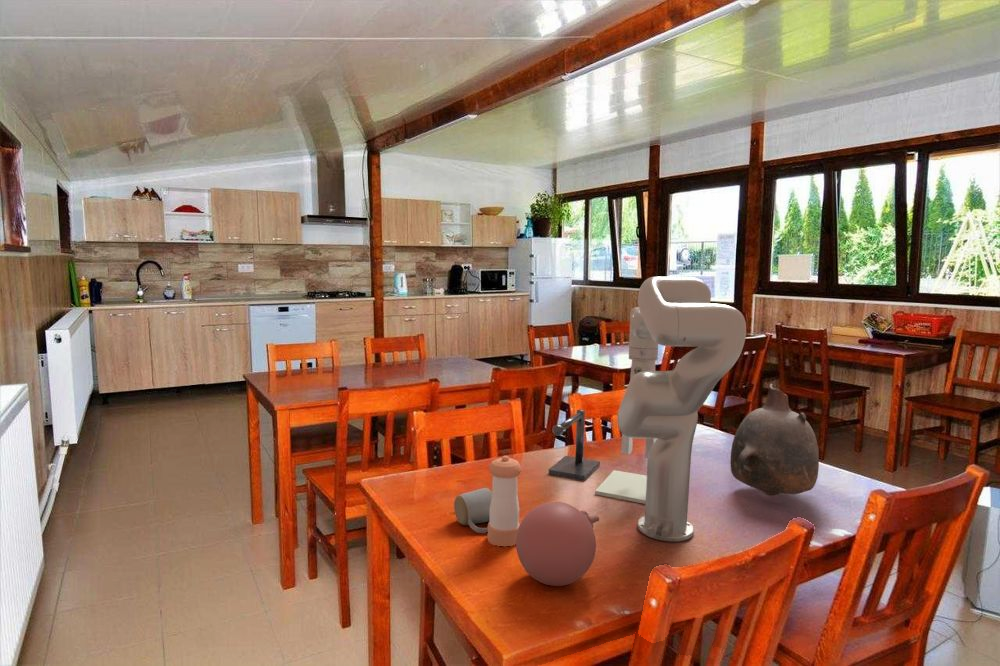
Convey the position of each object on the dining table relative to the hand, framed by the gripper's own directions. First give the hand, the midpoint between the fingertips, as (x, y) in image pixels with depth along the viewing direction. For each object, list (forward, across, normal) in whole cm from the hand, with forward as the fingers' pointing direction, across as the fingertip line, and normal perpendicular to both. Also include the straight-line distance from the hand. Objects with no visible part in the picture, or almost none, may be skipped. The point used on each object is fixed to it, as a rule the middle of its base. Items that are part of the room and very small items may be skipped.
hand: (640, 420), depth 165 cm
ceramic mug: (+20, -40, +28) cm, 52 cm away
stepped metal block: (+9, 0, 0) cm, 9 cm away
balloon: (+20, -53, +2) cm, 56 cm away
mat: (+19, 0, 0) cm, 19 cm away
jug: (+19, +13, -33) cm, 40 cm away
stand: (+19, +1, +20) cm, 28 cm away
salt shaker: (+19, -44, +19) cm, 52 cm away
